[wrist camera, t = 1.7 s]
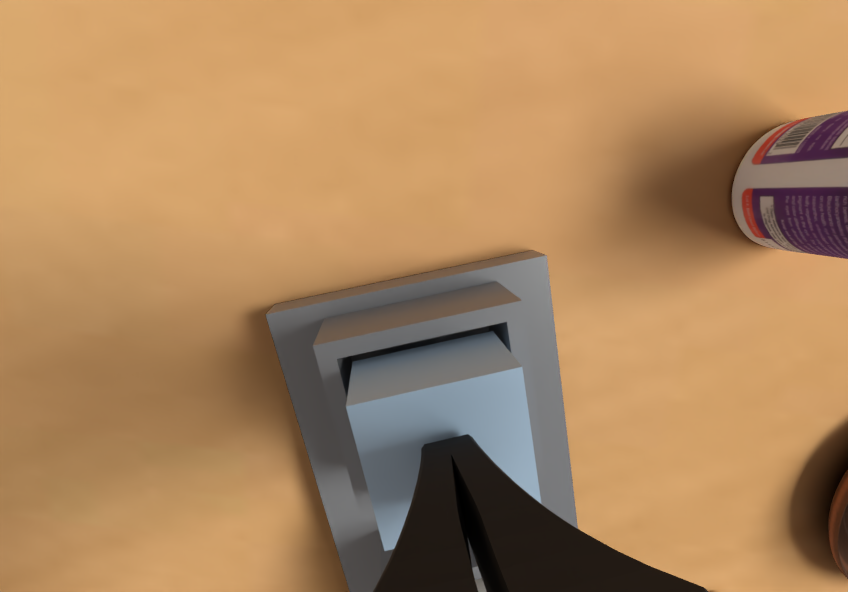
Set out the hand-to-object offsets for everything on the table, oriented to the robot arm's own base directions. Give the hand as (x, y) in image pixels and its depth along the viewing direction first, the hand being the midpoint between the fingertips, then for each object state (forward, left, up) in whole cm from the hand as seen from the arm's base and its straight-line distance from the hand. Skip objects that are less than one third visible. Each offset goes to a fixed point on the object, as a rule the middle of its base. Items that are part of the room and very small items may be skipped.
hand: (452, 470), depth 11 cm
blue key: (0, 0, -3) cm, 3 cm away
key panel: (-5, 0, -7) cm, 9 cm away
